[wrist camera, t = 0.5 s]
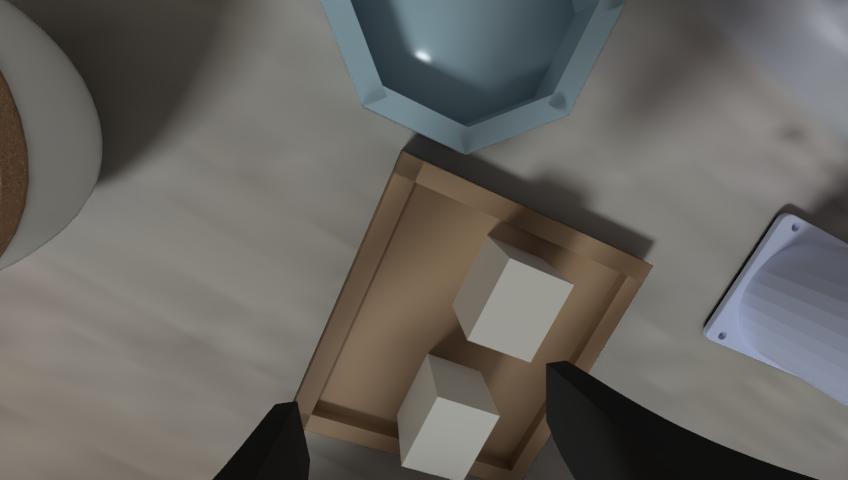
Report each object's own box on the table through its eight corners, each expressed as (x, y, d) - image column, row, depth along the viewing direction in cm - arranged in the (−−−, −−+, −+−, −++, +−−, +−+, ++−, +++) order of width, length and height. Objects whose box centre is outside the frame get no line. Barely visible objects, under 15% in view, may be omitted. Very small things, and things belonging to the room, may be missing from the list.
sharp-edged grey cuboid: (541, 258, 21) (574, 285, 17) (505, 324, 22) (530, 362, 18) (486, 235, 20) (510, 258, 17) (451, 304, 21) (467, 340, 17)
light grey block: (480, 371, 22) (499, 416, 19) (449, 429, 23) (462, 482, 20) (427, 353, 21) (437, 396, 18) (397, 414, 22) (401, 466, 19)
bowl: (630, -56, 18) (670, -84, 15) (513, 178, 20) (532, 186, 18) (395, -214, 15) (400, -276, 13) (292, 74, 17) (280, 67, 15)
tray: (638, 258, 22) (653, 265, 21) (511, 471, 25) (517, 488, 24) (401, 149, 19) (403, 151, 18) (289, 408, 22) (285, 424, 21)
